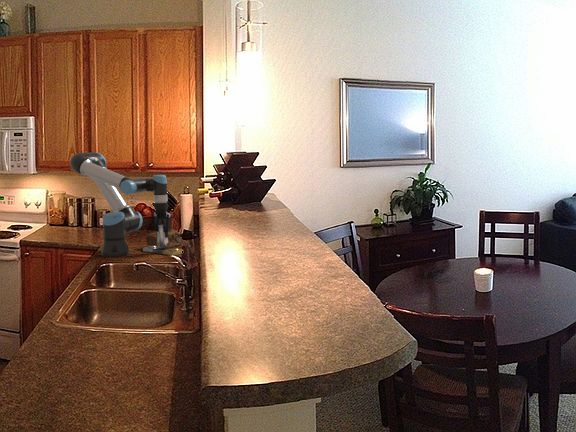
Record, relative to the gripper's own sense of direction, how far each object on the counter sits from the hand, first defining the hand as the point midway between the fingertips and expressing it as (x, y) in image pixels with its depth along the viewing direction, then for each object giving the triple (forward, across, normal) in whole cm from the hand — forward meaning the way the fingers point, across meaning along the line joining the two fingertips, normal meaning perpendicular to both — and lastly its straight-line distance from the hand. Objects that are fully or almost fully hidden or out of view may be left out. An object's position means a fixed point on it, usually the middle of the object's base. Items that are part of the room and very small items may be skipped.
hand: (162, 242), depth 311 cm
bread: (+6, -13, +13) cm, 19 cm away
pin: (+2, 0, 0) cm, 2 cm away
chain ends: (+5, 0, 0) cm, 5 cm away
